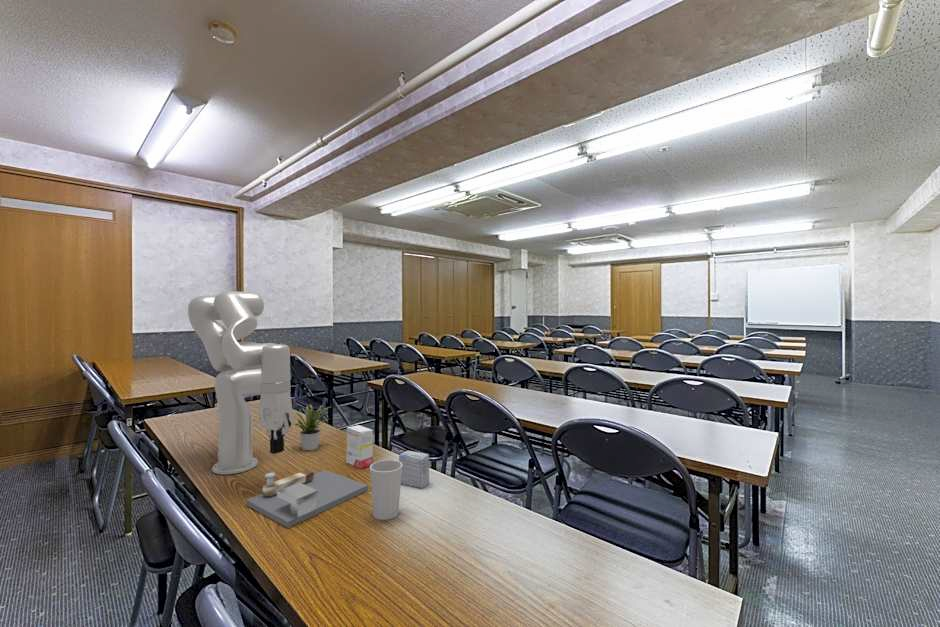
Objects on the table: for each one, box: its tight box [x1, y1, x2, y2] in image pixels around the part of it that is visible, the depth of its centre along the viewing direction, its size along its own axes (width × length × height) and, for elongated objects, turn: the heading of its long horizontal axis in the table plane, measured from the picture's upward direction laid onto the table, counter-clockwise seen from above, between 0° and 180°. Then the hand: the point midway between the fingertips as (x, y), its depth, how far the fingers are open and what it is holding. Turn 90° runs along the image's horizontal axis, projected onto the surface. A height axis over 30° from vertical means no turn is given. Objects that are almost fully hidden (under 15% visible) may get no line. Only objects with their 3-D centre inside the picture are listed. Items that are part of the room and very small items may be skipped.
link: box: [262, 469, 315, 496], centre depth 112 cm, size 14×4×2 cm, turn 146°
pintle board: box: [245, 469, 369, 529], centre depth 109 cm, size 19×24×7 cm
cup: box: [369, 459, 402, 521], centre depth 101 cm, size 8×8×12 cm
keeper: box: [277, 483, 318, 517], centre depth 100 cm, size 8×6×4 cm
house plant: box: [292, 403, 331, 451], centre depth 148 cm, size 14×14×16 cm
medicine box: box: [398, 450, 430, 489], centre depth 119 cm, size 8×4×9 cm, turn 65°
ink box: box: [345, 424, 374, 469], centre depth 134 cm, size 9×5×12 cm, turn 49°
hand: (277, 452), depth 115 cm, fingers closed
